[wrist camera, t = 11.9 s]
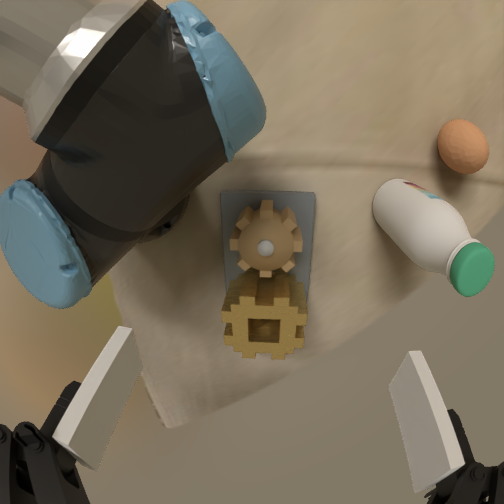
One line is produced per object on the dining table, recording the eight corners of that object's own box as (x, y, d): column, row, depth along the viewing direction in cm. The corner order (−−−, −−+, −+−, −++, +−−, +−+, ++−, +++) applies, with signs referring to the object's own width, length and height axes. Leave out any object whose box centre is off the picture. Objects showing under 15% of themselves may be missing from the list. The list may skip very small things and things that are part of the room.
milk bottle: (381, 238, 37) (446, 327, 19) (362, 191, 35) (435, 257, 17) (424, 216, 35) (507, 288, 17) (408, 169, 32) (505, 215, 14)
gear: (233, 323, 44) (225, 356, 37) (229, 265, 39) (219, 295, 32) (298, 325, 43) (301, 359, 36) (304, 267, 38) (309, 298, 32)
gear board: (229, 313, 45) (222, 344, 38) (222, 190, 36) (210, 205, 30) (303, 316, 44) (306, 347, 37) (313, 192, 35) (322, 207, 29)
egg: (437, 109, 28) (471, 108, 20) (470, 135, 29) (506, 142, 21) (420, 152, 31) (453, 161, 24) (455, 176, 32) (488, 191, 24)
